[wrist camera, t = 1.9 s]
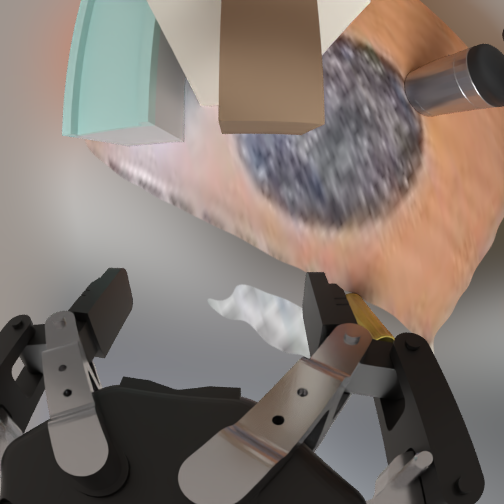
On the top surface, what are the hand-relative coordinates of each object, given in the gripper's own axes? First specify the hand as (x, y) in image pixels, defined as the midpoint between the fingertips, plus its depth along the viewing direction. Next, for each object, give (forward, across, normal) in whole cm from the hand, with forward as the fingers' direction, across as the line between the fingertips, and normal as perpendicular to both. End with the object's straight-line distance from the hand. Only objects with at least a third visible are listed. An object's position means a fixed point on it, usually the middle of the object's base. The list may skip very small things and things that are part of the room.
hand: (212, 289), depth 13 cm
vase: (+32, -19, +24) cm, 44 cm away
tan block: (+4, -2, -17) cm, 18 cm away
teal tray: (+18, +12, -20) cm, 29 cm away
